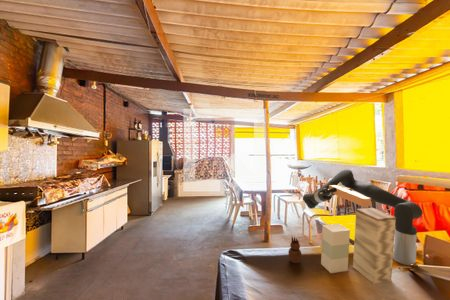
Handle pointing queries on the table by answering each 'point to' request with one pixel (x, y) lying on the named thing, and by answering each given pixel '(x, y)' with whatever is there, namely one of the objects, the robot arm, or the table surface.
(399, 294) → the table surface
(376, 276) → the stand
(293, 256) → the wooden figurine
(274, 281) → the table surface
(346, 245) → the tower
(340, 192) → the beam
